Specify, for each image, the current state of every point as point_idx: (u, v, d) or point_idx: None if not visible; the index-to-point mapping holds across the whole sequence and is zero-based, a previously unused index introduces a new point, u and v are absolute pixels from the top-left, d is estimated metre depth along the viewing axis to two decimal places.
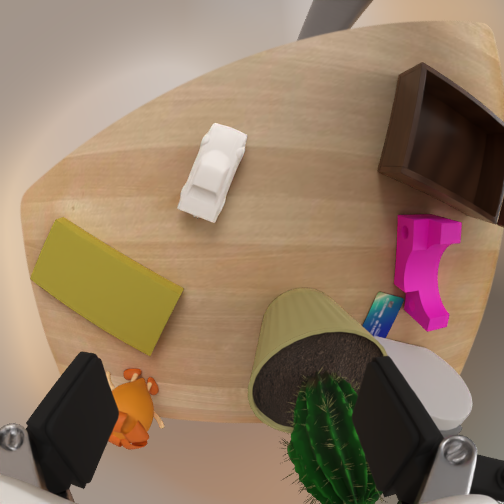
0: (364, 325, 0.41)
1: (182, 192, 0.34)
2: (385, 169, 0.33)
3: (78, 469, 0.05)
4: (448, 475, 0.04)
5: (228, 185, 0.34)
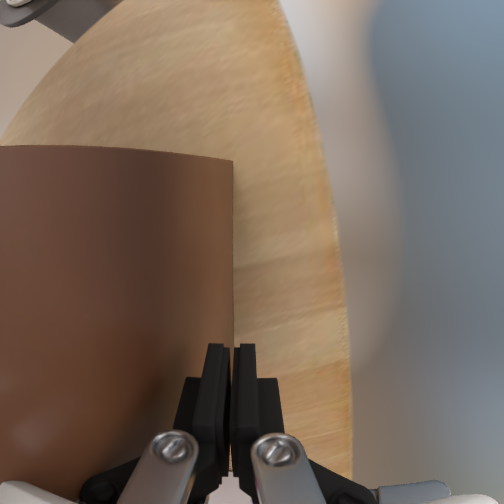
0: None
1: None
2: None
3: (226, 463, 0.07)
4: (280, 481, 0.04)
5: None
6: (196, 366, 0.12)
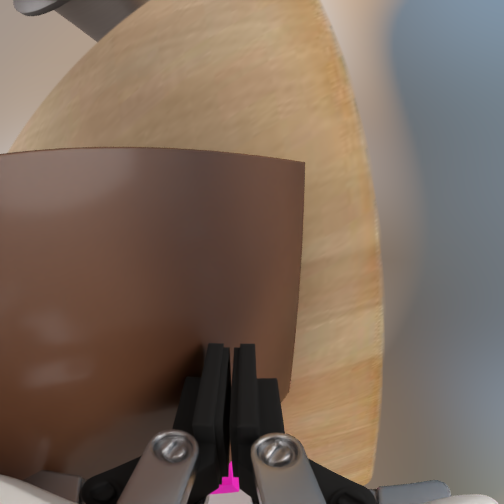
0: None
1: None
2: None
3: (226, 463, 0.07)
4: (281, 481, 0.04)
5: None
6: None
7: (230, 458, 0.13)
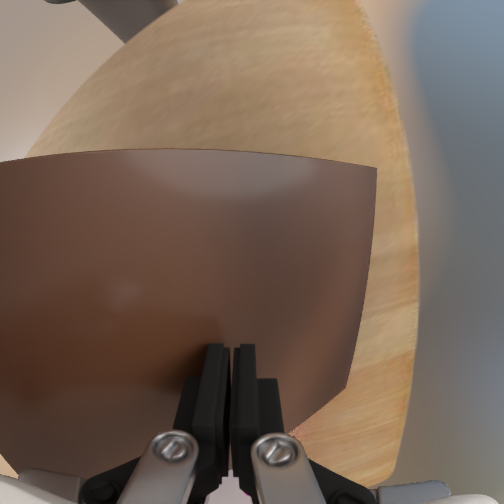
0: None
1: None
2: None
3: (226, 463, 0.07)
4: (281, 481, 0.04)
5: None
6: (302, 342, 0.14)
7: None
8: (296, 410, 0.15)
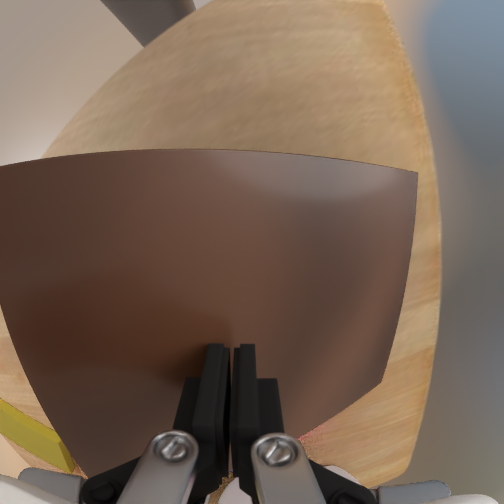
0: None
1: None
2: None
3: (226, 463, 0.07)
4: (281, 480, 0.04)
5: None
6: (346, 332, 0.14)
7: (312, 426, 0.15)
8: (335, 399, 0.16)
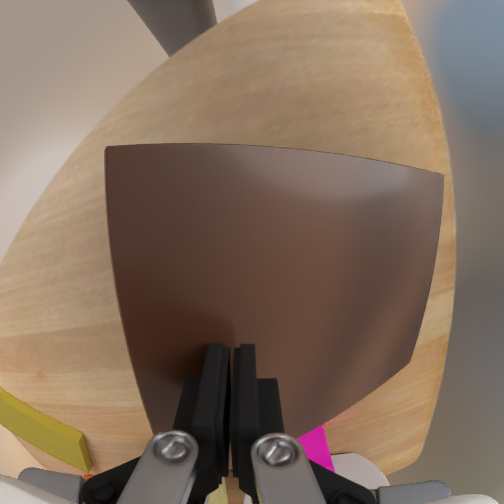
0: None
1: None
2: None
3: (226, 463, 0.07)
4: (281, 480, 0.04)
5: None
6: (389, 310, 0.16)
7: (356, 399, 0.17)
8: (375, 374, 0.17)
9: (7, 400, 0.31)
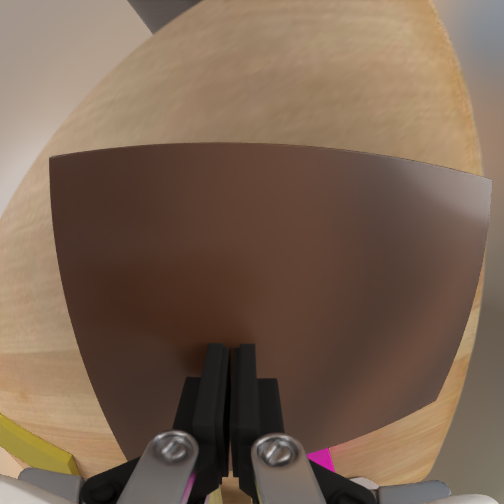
0: None
1: None
2: None
3: (226, 463, 0.07)
4: (281, 480, 0.04)
5: None
6: (405, 342, 0.12)
7: (356, 434, 0.14)
8: (384, 410, 0.14)
9: None
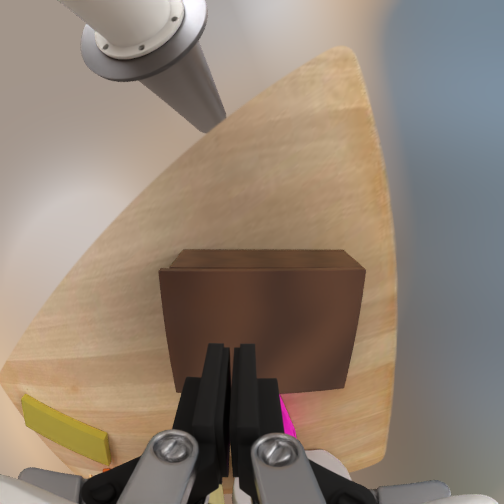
0: None
1: None
2: None
3: (226, 463, 0.07)
4: (281, 481, 0.04)
5: None
6: (300, 345, 0.30)
7: (284, 390, 0.31)
8: (299, 381, 0.31)
9: (41, 408, 0.42)
